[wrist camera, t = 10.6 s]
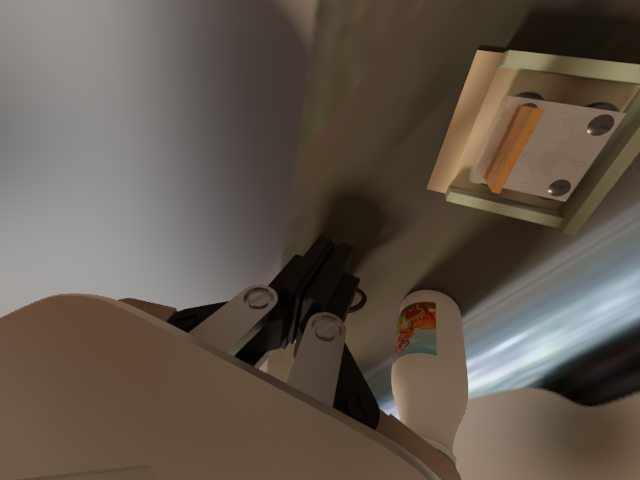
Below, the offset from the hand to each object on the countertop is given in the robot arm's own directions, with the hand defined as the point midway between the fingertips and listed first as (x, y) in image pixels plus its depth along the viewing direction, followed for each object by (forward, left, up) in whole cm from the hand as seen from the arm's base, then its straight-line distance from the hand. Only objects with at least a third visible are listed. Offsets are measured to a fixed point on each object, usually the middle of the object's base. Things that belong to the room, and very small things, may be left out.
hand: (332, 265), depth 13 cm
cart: (-12, -4, -20) cm, 24 cm away
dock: (-12, -4, -21) cm, 24 cm away
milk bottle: (-11, +19, -21) cm, 30 cm away
